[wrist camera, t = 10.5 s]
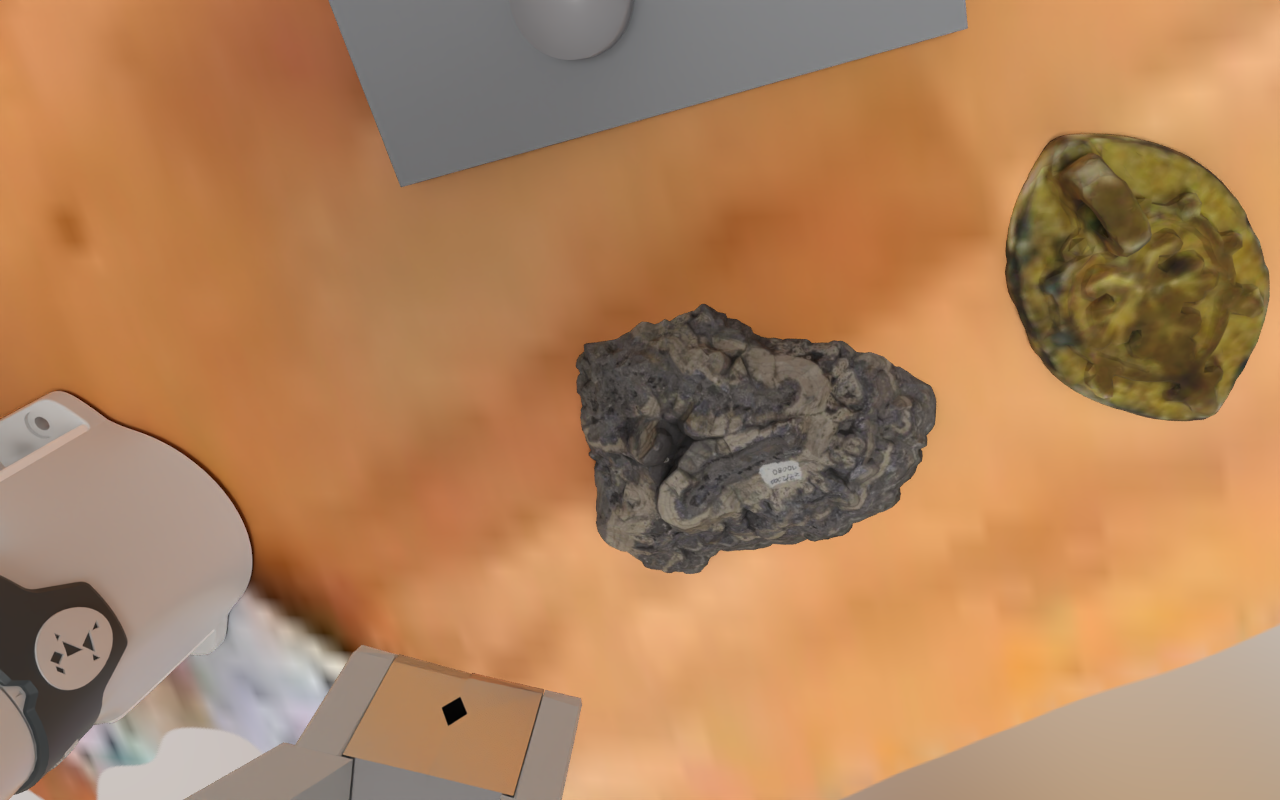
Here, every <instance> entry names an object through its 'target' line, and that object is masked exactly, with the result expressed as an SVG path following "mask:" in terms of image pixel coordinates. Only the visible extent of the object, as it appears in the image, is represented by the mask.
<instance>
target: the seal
mask: <svg viewBox="0 0 1280 800" xmlns="http://www.w3.org/2000/svg"><path fill="white" fill-rule="evenodd" d="M1006 257H1007V265H1006V270H1005V274H1006V281H1007V287H1008V292H1009V294H1010V297H1011V299H1012V301H1013V303H1014V304H1015V306H1016V307H1017V309H1018V312H1019V315H1020V319H1021V321H1022V323H1023V325H1024V327H1025V329H1026V332H1027V335H1028V338H1029V341H1030V344H1031V347H1032V349H1033V350H1034V351H1035V353H1036V354H1037V355H1038V356H1039V357H1040V358H1041V359H1042V361H1043V363H1044V365H1045V366H1046V367H1047V368H1048V369H1049V370H1050V372H1051V373H1052V374H1053V375H1054V376H1055V377H1057V378H1058V379H1059V380H1060V381H1061V382H1063V383H1064V384H1065V385H1067V386H1068V387H1070V388H1071V389H1073V390H1074V391H1076V392H1078V393H1079V394H1081V395H1083V396H1085V397H1087V398H1090V399H1092V400H1094V401H1096V402H1099V403H1101V404H1104V405H1107V406H1110V407H1113V408H1116V409H1120V410H1124V411H1127V412H1130V413H1133V414H1136V415H1140V416H1144V417H1148V418H1153V419H1160V420H1169V421H1192V420H1202V419H1206V418H1208V417H1210V416H1212V415H1214V414H1216V413H1217V412H1218V410H1219V409H1220V408H1221V406H1222V405H1223V403H1224V402H1225V400H1226V398H1227V397H1228V395H1229V393H1230V391H1231V390H1232V388H1233V386H1234V384H1235V381H1236V379H1237V378H1238V377H1239V375H1240V374H1241V372H1242V371H1243V369H1244V368H1245V365H1246V363H1247V361H1248V359H1249V357H1250V354H1251V353H1252V351H1253V349H1254V347H1255V346H1256V344H1257V342H1258V339H1259V335H1260V332H1261V329H1262V326H1263V323H1264V320H1265V316H1266V312H1267V307H1268V302H1269V271H1268V268H1267V266H1266V265H1265V262H1264V257H1263V253H1262V249H1261V246H1260V242H1259V240H1258V238H1257V236H1256V235H1255V233H1254V232H1253V230H1252V227H1251V225H1250V223H1249V221H1248V218H1247V216H1246V213H1245V211H1244V210H1243V208H1242V207H1241V205H1240V203H1239V202H1238V200H1237V199H1236V198H1235V197H1234V196H1233V195H1232V193H1231V192H1230V191H1229V190H1228V189H1227V187H1226V186H1225V185H1224V184H1223V182H1221V181H1220V180H1219V179H1218V178H1217V177H1216V176H1215V175H1214V174H1212V173H1211V172H1210V171H1209V170H1207V169H1206V168H1205V167H1203V166H1202V165H1201V164H1199V163H1198V162H1196V161H1195V160H1193V159H1192V158H1190V157H1188V156H1186V155H1184V154H1182V153H1180V152H1177V151H1175V150H1173V149H1170V148H1168V147H1165V146H1162V145H1159V144H1156V143H1153V142H1150V141H1145V140H1141V139H1137V138H1132V137H1126V136H1120V135H1110V134H1072V135H1064V136H1060V137H1058V138H1056V139H1054V140H1052V141H1051V142H1050V143H1049V144H1048V145H1047V146H1046V147H1045V148H1044V150H1043V151H1042V153H1041V154H1040V156H1039V158H1038V159H1037V161H1036V163H1035V164H1034V166H1033V168H1032V170H1031V172H1030V173H1029V176H1028V178H1027V181H1026V182H1025V184H1024V185H1023V188H1022V190H1021V192H1020V194H1019V196H1018V198H1017V201H1016V204H1015V207H1014V209H1013V213H1012V216H1011V220H1010V225H1009V228H1008V238H1007V242H1006Z"/></svg>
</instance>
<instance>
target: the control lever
mask: <svg viewBox="0 0 1280 800" xmlns="http://www.w3.org/2000/svg"><path fill="white" fill-rule="evenodd" d="M633 2H634V0H509V3H510V9H511V12H512V15H513V18H514V20H515V22H516V25H517V26H518V28H519V30H520V32H521V33H522V34H523V36H524V37H525V38H526V39H527V40H528V42H529V43H530V44H531V45H533V46H534V47H535V48H536V49H538V50H539V51H541V52H542V53H544V54H546V55H548V56H551V57H554V58H557V59H562V60H577V59H583V58H590V57H593V56H597V55H599V54H601V53H603V52H605V51H606V50H608V49H609V48H611V47H612V46H613V45H614V44H615V43H616V42H617V41H618V40H619V39H620V37H621V36H622V35H623V33H624V31H625V30H626V28H627V26H628V24H629V21H630V18H631V14H632V10H633Z"/></svg>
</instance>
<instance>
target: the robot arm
mask: <svg viewBox="0 0 1280 800" xmlns="http://www.w3.org/2000/svg"><path fill="white" fill-rule="evenodd" d="M251 572H252V550H251V545H250V540H249V537H248V534H247V531H246V528H245V526H244V523H243V521H242V519H241V517H240V515H239V513H238V511H237V510H236V508H235V507H234V505H233V503H232V502H231V501H230V499H229V498H228V496H227V495H226V494H225V492H224V491H223V490H222V489H221V488H220V486H219V485H218V484H217V483H216V482H215V481H214V480H213V479H212V478H211V477H210V476H209V475H208V474H207V473H206V472H205V471H204V470H203V469H202V468H200V467H199V466H198V465H197V464H196V463H194V462H193V461H192V460H190V459H189V458H188V457H186V456H185V455H183V454H182V453H181V452H179V451H177V450H176V449H174V448H172V447H171V446H169V445H167V444H165V443H163V442H162V441H159V440H157V439H155V438H153V437H151V436H148V435H146V434H143V433H140V432H138V431H135V430H132V429H129V428H126V427H123V426H121V425H118V424H116V423H114V422H112V421H110V420H108V419H106V418H105V417H104V416H102V415H101V414H100V413H98V412H97V411H95V410H94V409H93V408H91V407H90V406H88V405H87V404H86V403H84V402H83V401H81V400H80V399H78V398H76V397H74V396H73V395H71V394H68V393H66V392H62V391H53V392H50V393H48V394H46V395H45V396H43V397H41V398H39V399H37V400H35V401H33V402H32V403H30V404H28V405H26V406H24V407H22V408H20V409H19V410H17V411H15V412H13V413H11V414H9V415H7V416H6V417H4V418H2V419H0V800H9V799H10V798H11V797H12V796H13V795H15V794H19V793H21V792H23V791H26V790H28V789H29V788H31V787H32V786H34V785H35V784H36V783H37V782H38V781H39V780H40V779H41V778H42V777H43V776H44V775H45V774H46V773H47V772H48V771H50V770H52V769H54V768H55V767H56V766H58V765H59V764H60V763H61V762H62V761H63V760H64V759H65V758H66V757H67V756H68V755H69V754H70V753H71V751H72V750H73V749H74V747H75V746H76V745H77V743H78V742H79V740H80V739H81V738H82V737H83V736H84V735H85V734H86V733H87V732H88V731H89V730H90V728H91V727H92V726H93V725H97V724H103V723H114V722H116V721H118V720H120V719H121V718H123V717H124V716H125V715H126V714H127V713H128V712H130V711H131V710H132V709H133V708H134V707H135V706H136V705H137V704H138V703H139V702H140V701H141V700H142V699H143V698H145V697H146V696H147V695H148V694H149V693H150V692H151V691H152V690H153V689H154V688H155V687H156V686H157V685H158V684H159V683H160V682H162V681H163V680H164V679H165V678H166V677H167V676H168V675H169V674H170V673H171V672H172V671H173V670H174V669H175V668H176V667H177V666H178V665H179V664H180V663H181V662H182V661H184V660H185V659H186V658H187V657H188V656H189V655H208V654H210V653H212V652H213V651H214V650H215V649H216V648H217V647H218V646H220V645H221V644H222V643H223V641H224V639H225V636H226V631H227V619H228V614H229V612H230V610H231V609H232V607H233V606H234V605H235V604H236V603H237V601H238V600H239V599H240V598H241V597H242V595H243V594H244V592H245V590H246V588H247V586H248V583H249V581H250V577H251ZM543 693H544V695H543ZM581 706H582V700H581V698H578V697H573V696H569V695H565V694H560V693H556V692H552V691H548V690H545V692H544V689H540V688H536V687H531V686H527V685H523V684H518V683H514V682H509V681H505V680H501V679H496V678H492V677H488V676H483V675H479V674H475V673H472V674H471V673H467V672H463V671H460V670H456V669H452V668H449V667H445V666H441V665H437V664H434V663H430V662H426V661H423V660H419V659H415V658H412V657H408V656H404V655H400V654H399V655H398V654H394V653H390V652H387V651H383V650H379V649H375V648H372V647H368V646H364V645H361V646H360V647H359V648H358V649H357V650H356V651H355V652H353V653H352V655H351V656H350V658H349V660H348V661H347V663H346V664H345V666H344V668H343V669H342V671H341V672H340V674H339V676H338V677H337V679H336V680H335V682H334V684H333V685H332V687H331V689H330V690H329V692H328V693H327V695H326V697H325V698H324V700H323V701H322V703H321V705H320V706H319V708H318V709H317V711H316V713H315V714H314V716H313V717H312V719H311V721H310V722H309V724H308V725H307V727H306V729H305V730H304V732H303V733H302V735H301V737H300V738H299V740H298V741H297V743H296V745H292V744H288V743H282V744H280V745H278V746H277V747H275V748H273V749H271V750H270V751H268V752H266V753H264V754H263V755H261V756H259V757H257V758H256V759H254V760H252V761H250V762H249V763H247V764H245V765H244V766H242V767H240V768H238V769H236V770H235V771H233V772H231V773H229V774H228V775H226V776H224V777H222V778H221V779H219V780H217V781H215V782H214V783H212V784H210V785H208V786H207V787H205V788H203V789H202V790H200V791H198V792H196V793H194V794H193V795H191V796H189V797H187V798H186V799H184V800H562V795H563V790H564V786H565V781H566V776H567V772H568V767H569V762H570V758H571V753H572V748H573V744H574V739H575V734H576V730H577V725H578V720H579V716H580V711H581Z"/></svg>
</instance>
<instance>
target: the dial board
mask: <svg viewBox="0 0 1280 800" xmlns="http://www.w3.org/2000/svg"><path fill="white" fill-rule="evenodd" d="M329 3H330V6H331V8H332V11H333V13H334V16H335V18H336V21H337V24H338V26H339V29H340V31H341V34H342V36H343V39H344V42H345V44H346V47H347V49H348V52H349V55H350V57H351V60H352V62H353V65H354V67H355V70H356V73H357V75H358V78H359V80H360V83H361V85H362V88H363V91H364V93H365V96H366V98H367V101H368V104H369V106H370V109H371V111H372V114H373V116H374V119H375V122H376V124H377V127H378V129H379V132H380V135H381V137H382V140H383V142H384V145H385V147H386V150H387V153H388V155H389V158H390V160H391V163H392V165H393V168H394V171H395V173H396V176H397V178H398V181H399V184H400V186H401V187H403V186H407V185H411V184H414V183H418V182H421V181H425V180H428V179H432V178H436V177H439V176H443V175H446V174H450V173H453V172H457V171H461V170H464V169H468V168H471V167H475V166H478V165H482V164H486V163H489V162H493V161H496V160H500V159H503V158H507V157H511V156H514V155H518V154H521V153H525V152H528V151H532V150H535V149H539V148H543V147H546V146H550V145H553V144H557V143H560V142H564V141H568V140H571V139H575V138H578V137H582V136H585V135H589V134H593V133H596V132H600V131H603V130H607V129H610V128H614V127H618V126H621V125H625V124H628V123H632V122H635V121H639V120H643V119H646V118H650V117H653V116H657V115H660V114H664V113H668V112H671V111H675V110H678V109H682V108H685V107H689V106H692V105H696V104H700V103H703V102H707V101H710V100H714V99H717V98H721V97H725V96H728V95H732V94H735V93H739V92H742V91H746V90H750V89H753V88H757V87H760V86H764V85H767V84H771V83H775V82H778V81H782V80H785V79H789V78H792V77H796V76H800V75H803V74H807V73H810V72H814V71H817V70H821V69H824V68H828V67H832V66H835V65H839V64H842V63H846V62H849V61H853V60H857V59H860V58H864V57H867V56H871V55H874V54H878V53H882V52H885V51H889V50H892V49H896V48H899V47H903V46H907V45H910V44H914V43H917V42H921V41H924V40H928V39H932V38H935V37H939V36H942V35H946V34H949V33H953V32H956V31H960V30H964V29H967V28H968V26H967V14H966V3H965V0H634V2H633V10H632V14H631V18H630V21H629V24H628V26H627V28H626V30H625V31H624V33H623V35H622V36H621V37H620V39H619V40H618V41H617V42H616V43H615V44H614V45H613V46H612V47H611V48H609V49H608V50H606V51H605V52H603V53H601V54H599V55H597V56H593V57H590V58H583V59H577V60H562V59H557V58H554V57H551V56H548V55H546V54H544V53H542V52H541V51H539V50H538V49H536V48H535V47H534V46H533V45H531V44H530V43H529V42H528V40H527V39H526V38H525V37H524V36H523V34H522V33H521V32H520V30H519V28H518V26H517V25H516V22H515V20H514V18H513V15H512V12H511V9H510V3H509V0H329Z"/></svg>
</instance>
